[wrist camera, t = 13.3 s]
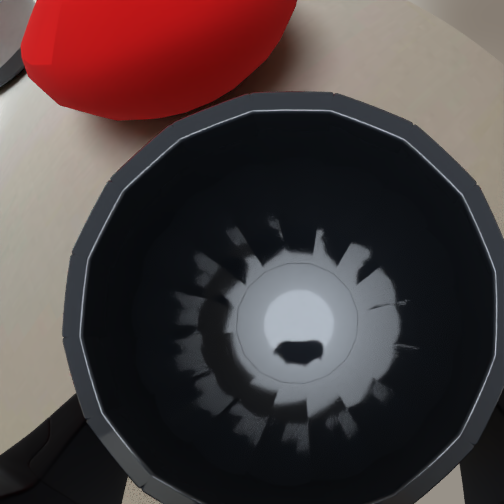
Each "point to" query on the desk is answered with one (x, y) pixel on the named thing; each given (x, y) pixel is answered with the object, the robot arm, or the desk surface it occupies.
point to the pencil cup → (288, 307)
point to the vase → (148, 52)
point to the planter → (12, 36)
